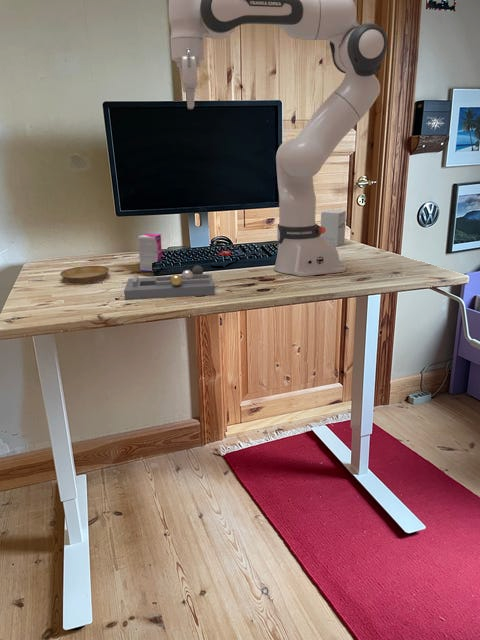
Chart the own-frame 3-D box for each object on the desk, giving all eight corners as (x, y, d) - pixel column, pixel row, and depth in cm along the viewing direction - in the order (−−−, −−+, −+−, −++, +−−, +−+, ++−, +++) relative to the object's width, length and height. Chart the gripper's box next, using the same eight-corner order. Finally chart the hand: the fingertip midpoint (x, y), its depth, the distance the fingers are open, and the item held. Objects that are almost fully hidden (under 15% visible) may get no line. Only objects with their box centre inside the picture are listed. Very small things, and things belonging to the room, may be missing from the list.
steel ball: (193, 279, 142) (192, 268, 141) (193, 282, 139) (192, 271, 138) (182, 279, 142) (181, 268, 141) (182, 283, 139) (181, 271, 138)
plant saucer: (62, 275, 161) (61, 267, 160) (110, 271, 164) (109, 263, 163) (59, 288, 147) (57, 279, 146) (110, 283, 151) (109, 275, 150)
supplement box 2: (337, 247, 187) (339, 213, 183) (319, 245, 191) (320, 211, 187) (345, 243, 193) (346, 210, 189) (327, 241, 197) (328, 209, 192)
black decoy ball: (203, 274, 147) (202, 263, 146) (203, 277, 144) (203, 266, 143) (192, 275, 146) (191, 264, 145) (192, 278, 143) (191, 267, 142)
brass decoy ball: (182, 284, 138) (181, 272, 137) (182, 287, 135) (181, 276, 134) (171, 284, 138) (170, 273, 136) (170, 288, 135) (169, 276, 134)
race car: (222, 269, 162) (221, 257, 161) (207, 268, 165) (207, 256, 163) (241, 260, 173) (240, 249, 172) (227, 259, 175) (226, 247, 174)
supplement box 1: (157, 272, 160) (154, 237, 156) (140, 272, 161) (136, 236, 157) (163, 268, 165) (161, 233, 161) (146, 267, 166) (143, 233, 162)
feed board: (211, 282, 148) (211, 269, 146) (214, 294, 137) (213, 280, 135) (129, 286, 146) (128, 273, 144) (124, 299, 134) (123, 285, 133)
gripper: (200, 46, 126) (203, 106, 130) (198, 57, 145) (200, 109, 149) (175, 46, 125) (179, 106, 130) (176, 57, 144) (179, 110, 149)
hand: (190, 108), depth 140 cm, fingers open, 8 cm apart
